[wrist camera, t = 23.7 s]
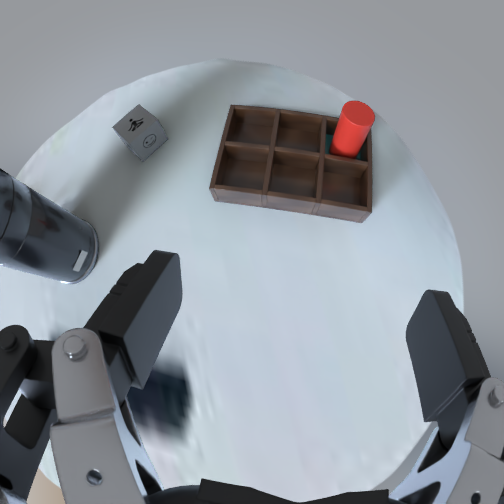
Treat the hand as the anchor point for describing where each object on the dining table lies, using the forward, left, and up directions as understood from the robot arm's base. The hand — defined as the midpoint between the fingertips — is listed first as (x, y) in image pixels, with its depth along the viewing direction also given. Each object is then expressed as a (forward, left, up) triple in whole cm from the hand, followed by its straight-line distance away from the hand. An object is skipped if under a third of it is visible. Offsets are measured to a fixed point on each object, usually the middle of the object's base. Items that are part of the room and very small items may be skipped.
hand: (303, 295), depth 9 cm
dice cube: (-22, +21, -26) cm, 40 cm away
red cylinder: (+6, +22, -25) cm, 34 cm away
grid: (0, +19, -26) cm, 32 cm away
